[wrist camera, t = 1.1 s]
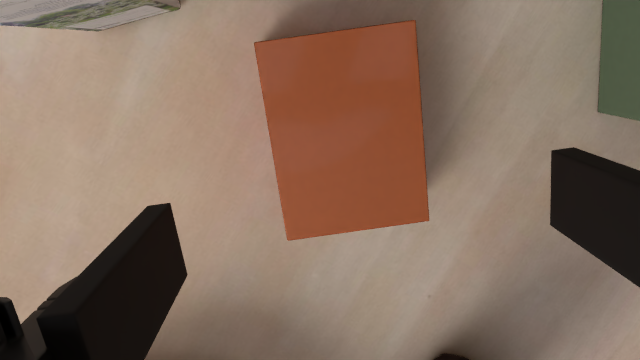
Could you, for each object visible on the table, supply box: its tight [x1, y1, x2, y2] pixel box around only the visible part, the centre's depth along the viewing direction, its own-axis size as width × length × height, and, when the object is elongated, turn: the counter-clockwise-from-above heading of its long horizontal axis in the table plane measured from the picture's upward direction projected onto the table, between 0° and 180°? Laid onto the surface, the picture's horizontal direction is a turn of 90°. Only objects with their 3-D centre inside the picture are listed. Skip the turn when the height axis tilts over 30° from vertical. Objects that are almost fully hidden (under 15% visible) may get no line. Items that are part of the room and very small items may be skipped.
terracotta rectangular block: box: [254, 20, 429, 241], centre depth 28 cm, size 12×9×4 cm
